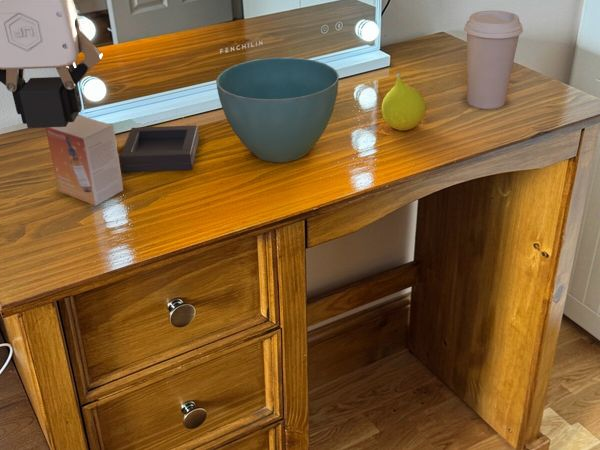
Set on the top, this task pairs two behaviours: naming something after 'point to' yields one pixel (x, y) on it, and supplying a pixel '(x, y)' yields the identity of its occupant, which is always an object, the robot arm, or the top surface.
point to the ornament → (403, 106)
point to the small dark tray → (160, 149)
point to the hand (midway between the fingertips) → (51, 116)
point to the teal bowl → (278, 104)
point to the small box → (86, 160)
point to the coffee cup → (490, 56)
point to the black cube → (43, 103)
